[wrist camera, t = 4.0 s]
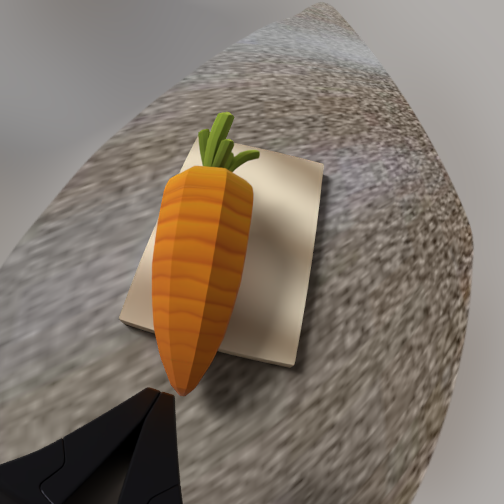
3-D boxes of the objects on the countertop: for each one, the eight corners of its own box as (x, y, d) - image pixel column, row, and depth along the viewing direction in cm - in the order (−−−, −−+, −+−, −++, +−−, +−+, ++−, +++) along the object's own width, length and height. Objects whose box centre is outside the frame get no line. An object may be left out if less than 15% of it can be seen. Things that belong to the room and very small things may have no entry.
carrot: (169, 382, 17) (206, 153, 21) (248, 399, 15) (275, 145, 19) (110, 385, 13) (167, 110, 17) (202, 415, 11) (247, 92, 15)
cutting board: (290, 367, 17) (294, 365, 16) (123, 323, 17) (118, 318, 17) (320, 172, 24) (323, 164, 23) (198, 145, 25) (197, 136, 24)
